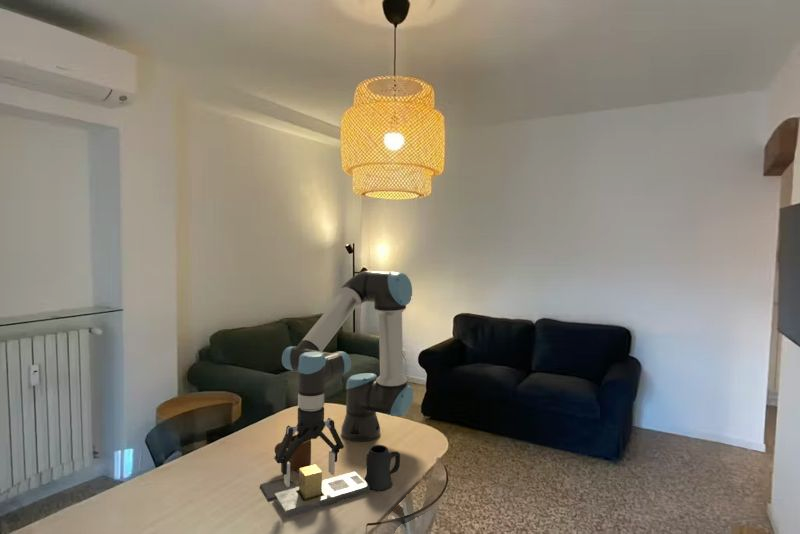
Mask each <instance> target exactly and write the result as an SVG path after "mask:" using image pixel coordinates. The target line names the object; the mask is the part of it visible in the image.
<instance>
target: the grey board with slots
mask: <svg viewBox="0 0 800 534" xmlns="http://www.w3.org/2000/svg"><path fill="white" fill-rule="evenodd" d="M370 492H371V491H370V485H369V484H368V483H367V482H365V481H364V479H363V477H362V476H361V475H359V474H358V472H356V471H351V472H348V473H344V474H340V475H336V476H333V477H329V478H325V479H322V496H321V497H318V498H314V499H311V500H307V501H303V500H302V499H301V497H300V496H299V486H296V488H292V489H289V490H285V491H281V492H278V493H275V499H274V502H275V503H276V505H277V506H278V508H279V510H280V511H281V513H282V515H283V516H284V517H285V519H286V518H290V517H293V516H297V515H299V514H304V513H307V512H309V511H313V510H317V509H319V508H322V507H326V506H328V505H333V504H334V503H335V504H336V503H338V502H342V501H345V500H348V499H352V498H355V497H359V496H361V495H364V494H367V493H370Z"/></svg>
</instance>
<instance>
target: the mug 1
mask: <svg viewBox="0 0 800 534" xmlns="http://www.w3.org/2000/svg"><path fill="white" fill-rule="evenodd" d="M296 435H297V434H294V435H293V436H292V439H291V442H290V444H289V446H290V445H291V443H292V442H293V441H294V439H295V437H296ZM300 438H301V437H300ZM281 443H282V441H280V442H277V444H275V447H274V454H275V455H276V453H277V451H278V449H279V447H280V445H281ZM289 446H288V448H289ZM288 448H287V449H288ZM288 462H289V463H290V471H295V472H299V468H303V467H307V466H311V465H312V464H311V463H312V439H310V440H304V442H303V443H302V444H300V446H299V447H298V449H297V450H296V451H295V453H294V454H293V456H292V457H291V458H290V460H289V461H288Z"/></svg>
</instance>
